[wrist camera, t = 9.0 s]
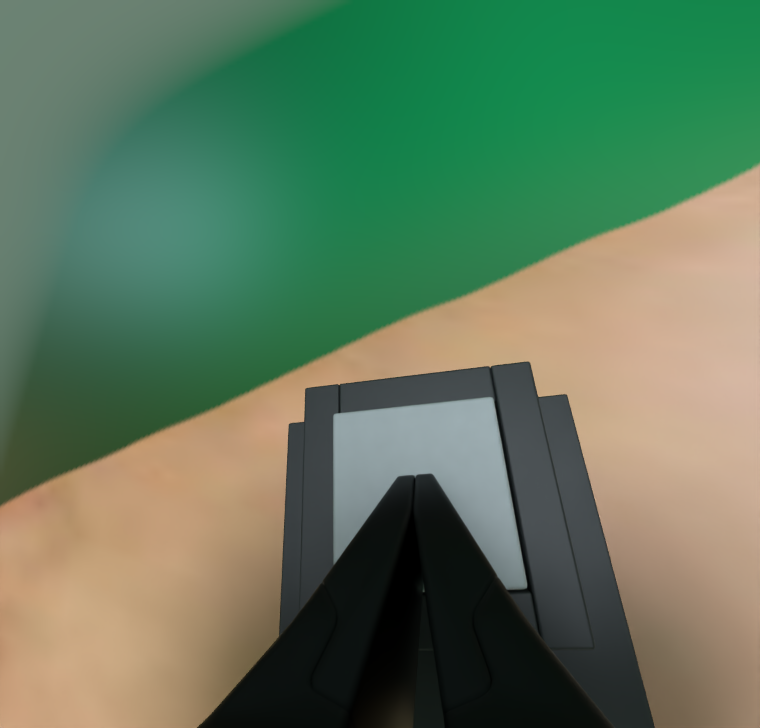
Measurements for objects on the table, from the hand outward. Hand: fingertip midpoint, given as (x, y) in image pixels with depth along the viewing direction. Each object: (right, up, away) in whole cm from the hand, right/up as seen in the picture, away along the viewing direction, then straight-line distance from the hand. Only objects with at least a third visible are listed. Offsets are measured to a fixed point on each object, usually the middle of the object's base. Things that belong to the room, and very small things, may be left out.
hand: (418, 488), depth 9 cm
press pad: (0, -1, +3) cm, 3 cm away
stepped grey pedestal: (+1, -4, +6) cm, 8 cm away
